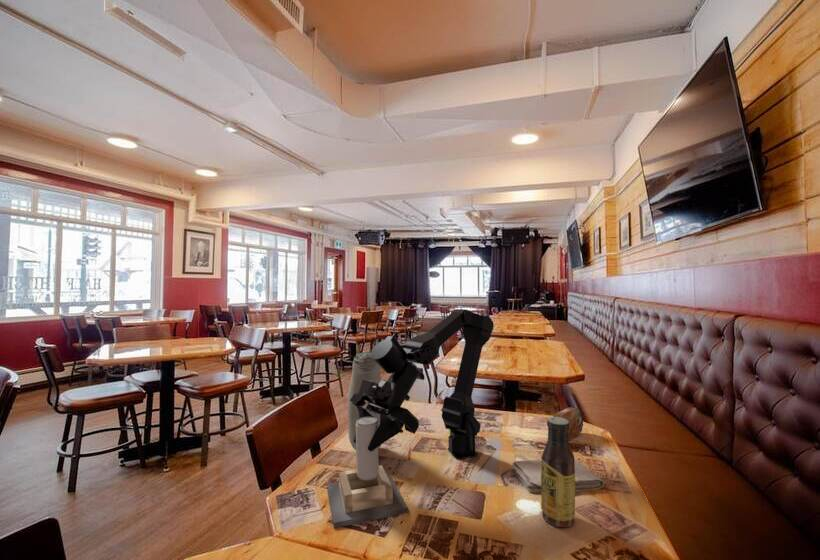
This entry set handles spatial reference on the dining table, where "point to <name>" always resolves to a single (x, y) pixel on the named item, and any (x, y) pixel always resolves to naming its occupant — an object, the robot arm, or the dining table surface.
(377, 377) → the grey bottle
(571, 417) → the brown rounded slab
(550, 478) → the sauce bottle
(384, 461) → the dining table surface
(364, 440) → the beverage can
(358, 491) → the can collar
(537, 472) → the washcloth
